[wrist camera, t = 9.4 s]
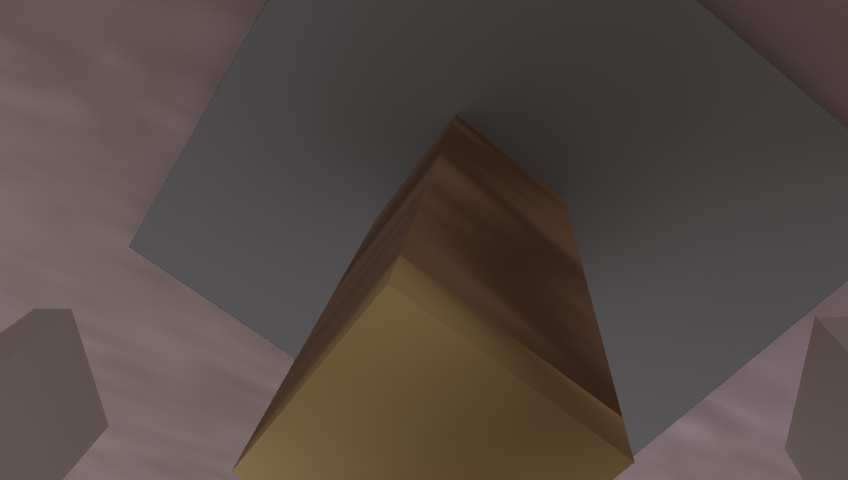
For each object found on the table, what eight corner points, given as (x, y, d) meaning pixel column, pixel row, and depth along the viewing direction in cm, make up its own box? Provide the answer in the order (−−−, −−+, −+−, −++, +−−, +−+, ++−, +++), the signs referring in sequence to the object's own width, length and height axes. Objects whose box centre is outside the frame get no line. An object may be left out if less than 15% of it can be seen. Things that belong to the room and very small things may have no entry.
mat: (143, 236, 24) (128, 247, 23) (412, -235, 17) (406, -248, 16) (545, 508, 26) (546, 527, 25) (917, 195, 20) (938, 205, 19)
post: (376, 218, 21) (231, 471, 10) (455, 115, 19) (387, 283, 8) (478, 293, 22) (448, 610, 11) (565, 200, 20) (634, 462, 9)
